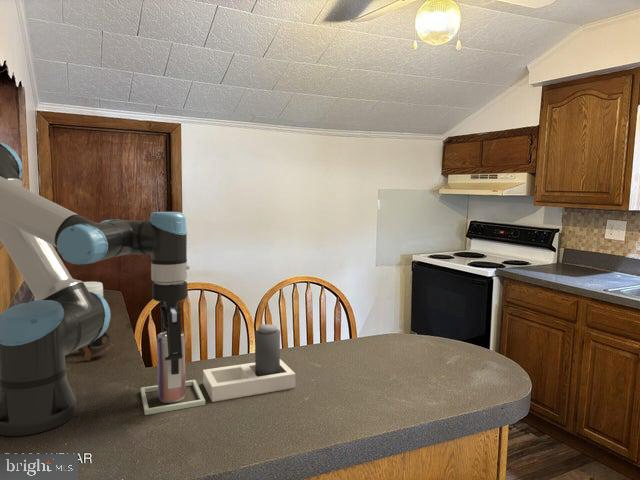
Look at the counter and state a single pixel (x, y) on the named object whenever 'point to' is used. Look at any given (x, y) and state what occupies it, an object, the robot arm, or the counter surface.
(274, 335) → the single round plug
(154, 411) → the rectangular frame
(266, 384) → the white divided tray
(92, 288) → the supplement tub
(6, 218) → the robot arm
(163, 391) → the beverage can
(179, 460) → the counter surface
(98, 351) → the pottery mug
